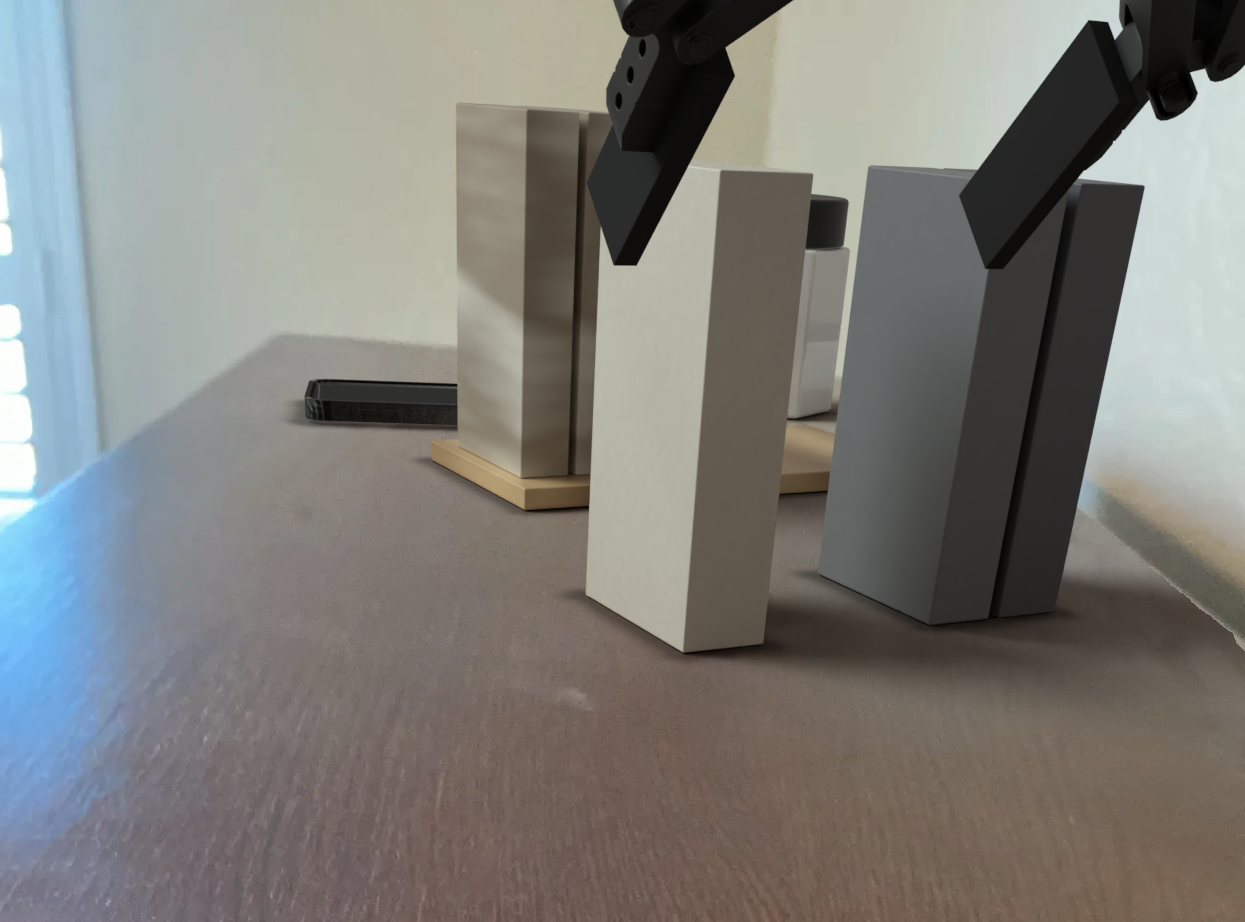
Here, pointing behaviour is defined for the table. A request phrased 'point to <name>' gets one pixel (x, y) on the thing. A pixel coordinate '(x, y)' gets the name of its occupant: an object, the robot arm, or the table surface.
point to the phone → (382, 402)
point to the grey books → (969, 397)
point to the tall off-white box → (697, 407)
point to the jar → (820, 307)
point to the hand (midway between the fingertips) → (806, 230)
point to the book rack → (541, 310)
